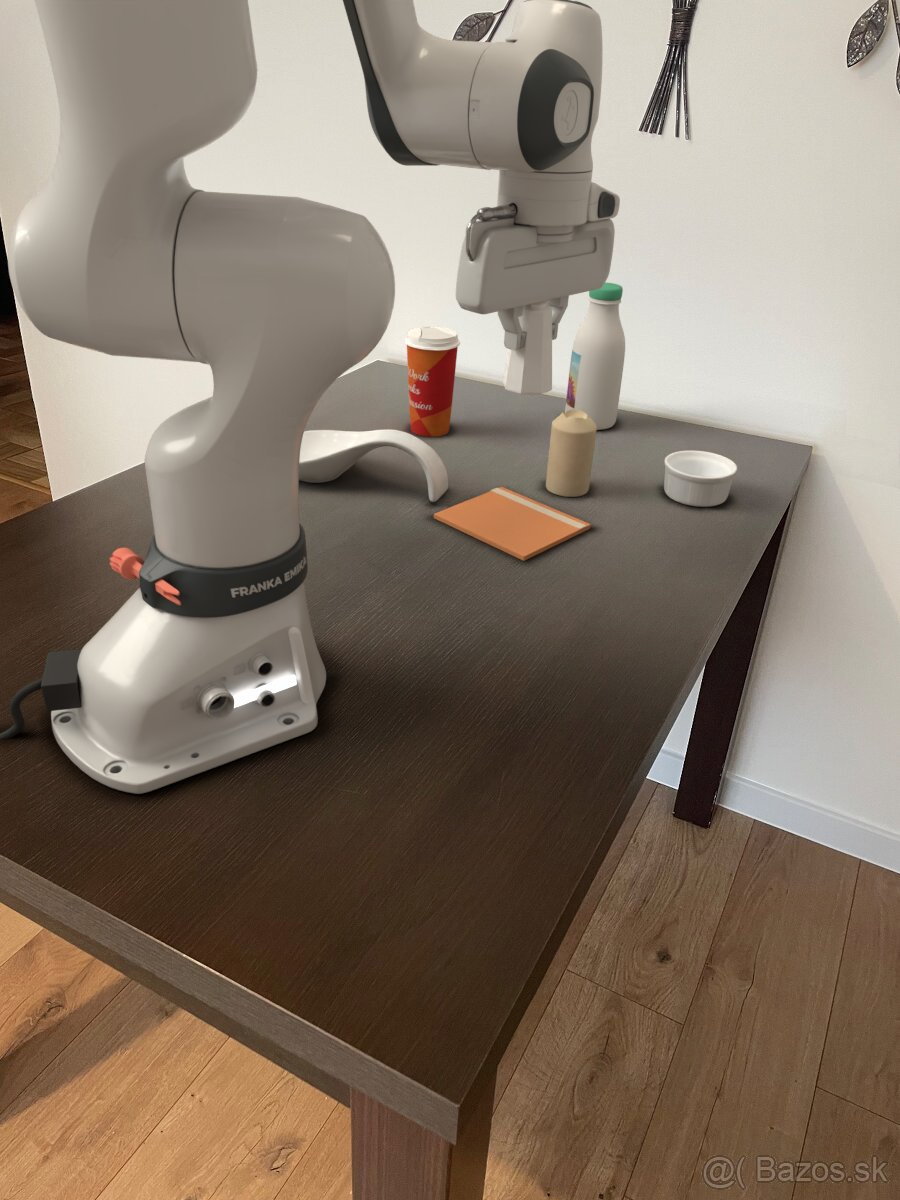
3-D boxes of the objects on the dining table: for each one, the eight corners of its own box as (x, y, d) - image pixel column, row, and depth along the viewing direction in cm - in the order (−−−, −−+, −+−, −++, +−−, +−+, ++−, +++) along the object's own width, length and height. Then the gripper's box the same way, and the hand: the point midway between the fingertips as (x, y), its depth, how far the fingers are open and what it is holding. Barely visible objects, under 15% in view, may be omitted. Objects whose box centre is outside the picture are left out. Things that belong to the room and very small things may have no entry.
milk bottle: (623, 420, 140) (642, 284, 130) (602, 435, 134) (621, 294, 124) (577, 409, 143) (592, 276, 133) (555, 423, 138) (569, 285, 127)
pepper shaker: (495, 391, 97) (503, 282, 91) (509, 376, 101) (517, 272, 95) (546, 398, 95) (556, 289, 90) (557, 383, 100) (568, 278, 94)
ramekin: (698, 515, 112) (705, 483, 110) (645, 490, 118) (650, 458, 116) (745, 499, 116) (752, 468, 114) (691, 475, 122) (697, 445, 120)
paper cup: (397, 422, 135) (398, 326, 128) (447, 418, 137) (450, 324, 130) (411, 441, 129) (413, 341, 122) (463, 437, 131) (468, 339, 124)
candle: (587, 499, 115) (596, 423, 109) (543, 494, 115) (550, 418, 110) (590, 482, 119) (599, 408, 114) (548, 477, 120) (555, 403, 115)
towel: (523, 561, 100) (524, 555, 100) (433, 518, 108) (433, 512, 108) (590, 528, 108) (591, 523, 107) (501, 490, 116) (501, 485, 116)
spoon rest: (249, 482, 115) (245, 427, 111) (294, 450, 125) (291, 399, 121) (426, 516, 109) (428, 459, 105) (459, 480, 118) (461, 426, 114)
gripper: (494, 214, 80) (485, 370, 88) (630, 197, 93) (612, 334, 100) (443, 204, 84) (438, 354, 91) (581, 189, 97) (567, 322, 104)
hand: (530, 343), depth 96 cm, fingers closed on pepper shaker, 4 cm apart
